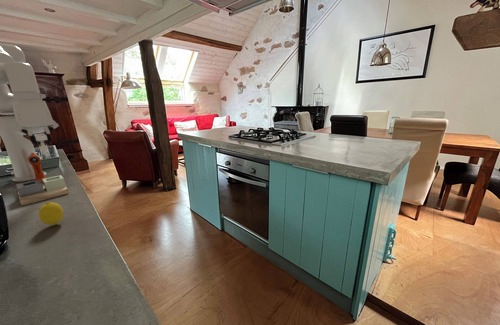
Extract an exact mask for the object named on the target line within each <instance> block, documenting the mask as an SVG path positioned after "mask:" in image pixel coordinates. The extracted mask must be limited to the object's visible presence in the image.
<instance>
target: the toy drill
mask: <svg viewBox="0 0 500 325" xmlns="http://www.w3.org/2000/svg"><path fill="white" fill-rule="evenodd" d="M28 161H29V163H30V164H31V165H32V167H33V169H34V172H35V177H36V178H35V179H34V180H39V179H40V180H41V182H42V185H44V183H43V180H42V179H45V178H48V177H47V175H44V173H43V172H44V171H43V169H42V164H41V163H42V160H41V157H40V156H39V155H38V154H34V153H31V155H30V156H29V157H28Z"/></svg>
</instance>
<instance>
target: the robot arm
mask: <svg viewBox="0 0 500 325" xmlns="http://www.w3.org/2000/svg"><path fill="white" fill-rule="evenodd" d="M36 78H37V77H36V74H35V71H34V68H33V66H32V65H31V64H29V63H28V62H27V61H26V55H25V53H24V52H23V50H22V49H21V48H20V47H18V46H17V45H14V44H10V43H1V42H0V115H2V116H0V137H1V140H2V142H3V144H4V146H5V147H4V148H5V149H6V151H7V152H6V153H7V156H8V158H9V161H10V164H11V166H12V169H13V170H12V171H11V172H10V174H11V175H14V177H12V181H13V182H15V183H16V182H17V183H19V182H21V183H22V182H29V181H34V180H35V178H36V177H35V172H34V169H33V167H32V165H31V164H30V163H29V161H28V157H29V156H30V155H31V153H34V154H36V149H35V147H34V145H35V146H39V145H38V141H36V139H35V136H34V134H43V133H44V134H45V135H46V136H47V140H46V144H47V145H51V142H52V137H51V135H50V134H51V133H52V132H53V130H55V129H57V128H58V127H59V126H60V124H59V123H57V122H56V121H55V120H54V119H53V117H52V115H51V111H50V110H49V107H48V105H47V103H46V101H45V100H43V99H46V98H47V95H46V94H45V93H44V94H43V93H41V92H40V88H39V84H38V81H37V79H36ZM8 85H9V86H8ZM9 87H10V88H9ZM4 115H5V116H4ZM26 135H28V136H29V138H30V140H29V139H28V138H27V137H24V136H26ZM36 155H37V154H36ZM43 173H44V175H45V176H47V172H46V171H43Z"/></svg>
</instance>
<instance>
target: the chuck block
mask: <svg viewBox="0 0 500 325" xmlns="http://www.w3.org/2000/svg"><path fill="white" fill-rule="evenodd" d="M43 186H44V184H42V182H41V180H40V179H39V180H35V179H34V180H29V181H24V182H21V183H16V189H17V193H18V192H19V194H18V196H19V195H20V197H21V198H23V197H27V196H31V195H35V194H40V193H44V192H45V191H44V188H43Z"/></svg>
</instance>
